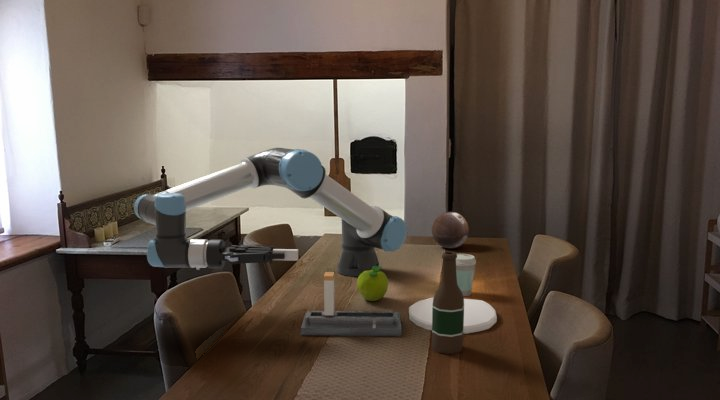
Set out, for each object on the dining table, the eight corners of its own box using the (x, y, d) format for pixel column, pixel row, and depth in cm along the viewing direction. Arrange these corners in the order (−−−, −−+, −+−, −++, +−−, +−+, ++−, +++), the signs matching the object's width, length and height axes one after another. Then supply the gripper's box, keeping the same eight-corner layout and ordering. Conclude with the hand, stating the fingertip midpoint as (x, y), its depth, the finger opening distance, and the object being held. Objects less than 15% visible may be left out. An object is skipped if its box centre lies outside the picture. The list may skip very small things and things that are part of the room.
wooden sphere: (462, 253, 252) (463, 216, 250) (426, 249, 258) (427, 213, 256) (472, 246, 265) (473, 210, 263) (438, 242, 272) (438, 208, 269)
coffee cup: (475, 298, 195) (476, 260, 193) (447, 296, 197) (447, 259, 195) (475, 290, 203) (476, 253, 201) (448, 288, 205) (449, 252, 203)
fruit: (391, 296, 197) (391, 265, 195) (382, 305, 188) (382, 273, 187) (363, 293, 200) (363, 262, 198) (353, 302, 191) (353, 270, 190)
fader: (321, 321, 168) (320, 276, 166) (322, 316, 172) (322, 271, 170) (336, 321, 168) (336, 276, 166) (337, 316, 172) (337, 272, 170)
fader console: (300, 335, 165) (300, 321, 164) (305, 319, 176) (305, 306, 176) (401, 336, 164) (401, 322, 163) (399, 320, 176) (399, 307, 175)
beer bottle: (428, 343, 159) (430, 249, 156) (459, 342, 160) (461, 248, 156) (434, 355, 152) (436, 257, 148) (466, 354, 152) (469, 256, 149)
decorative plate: (420, 287, 194) (503, 296, 185) (420, 300, 194) (502, 309, 186) (396, 313, 171) (489, 324, 162) (396, 328, 171) (489, 339, 163)
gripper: (215, 261, 174) (300, 262, 174) (202, 274, 161) (294, 275, 161) (214, 234, 173) (300, 235, 173) (201, 245, 160) (294, 246, 160)
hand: (297, 254), depth 167 cm, fingers closed
